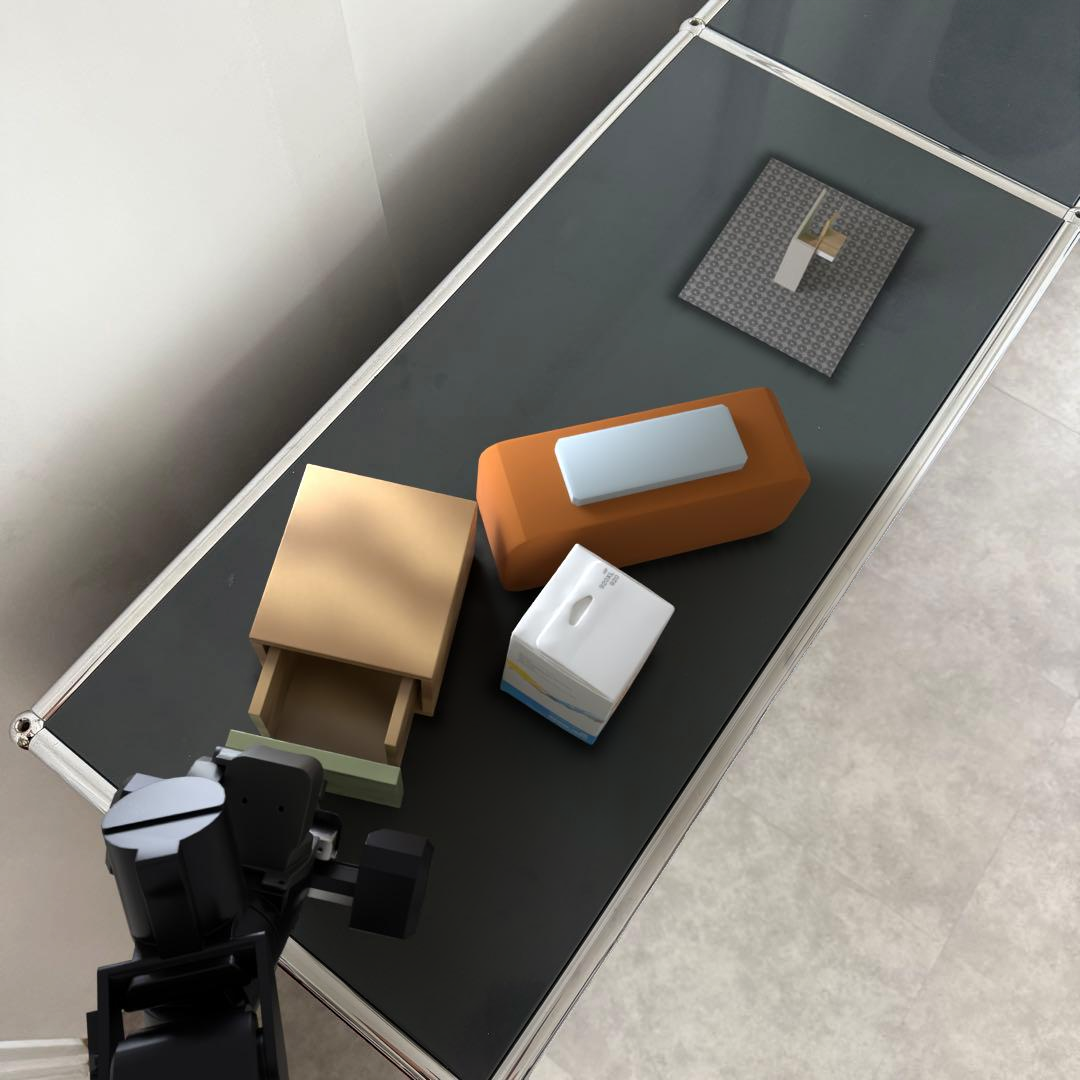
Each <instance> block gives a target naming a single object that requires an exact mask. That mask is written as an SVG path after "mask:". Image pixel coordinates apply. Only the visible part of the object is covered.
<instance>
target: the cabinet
mask: <svg viewBox="0 0 1080 1080" xmlns="http://www.w3.org/2000/svg"><path fill="white" fill-rule="evenodd" d="M478 509H479V506H478V502H477V500H476V501H475V500H471V499H465V498H462V497H457V496H453V495H449V494H444V493H440V492H436V491H431V490H427V489H422V488H418V487H414V486H408V485H403V484H399V483H395V482H390V481H386V480H382V479H377V478H373V477H369V476H364V475H358V474H355V473H350V472H345V471H341V470H338V469H333V468H328V467H323V466H319V465H315V464H310V463H307V464H306V467H305V470H304V473H303V476H302V479H301V482H300V485H299V488H298V490H297V494H296V496H295V500H294V503H293V505H292V508H291V512H290V514H289V517H288V520H287V523H286V526H285V528H284V532H283V535H282V538H281V541H280V543H279V547H278V549H277V553H276V554H275V555H276V556H275V559H274V561H273V564H272V566H271V567H272V568H271V570H270V574H269V576H268V579H267V582H266V585H265V588H264V591H263V594H262V597H261V599H260V603H259V606H258V608H257V612H256V615H255V616H254V617H255V618H254V621H253V623H252V625H251V629H250V631H249V635H248V639H249V641H250V644H251V647H252V648H253V650H254V653H255V655H256V657H257V658H258V661H259V662H260V666H261V667H262V668H263V666H264V663H265V660H266V657H267V654H268V651H269V648H270V646H274V647H278V648H282V649H287V650H291V651H296V652H300V653H305V654H309V655H313V656H318V657H322V658H327V659H331V660H336V661H340V662H344V663H349V664H353V665H358V666H362V667H367V668H371V669H375V670H380V671H384V672H389V673H393V674H398V675H402V676H407V677H411V678H415V679H420V680H421V689H420V693H419V697H418V701H417V705H416V709H415V712H414V714H419V715H422V716H426V717H434V714H435V709H436V706H437V702H438V698H439V694H440V689H441V686H442V682H443V679H444V674H445V670H446V666H447V663H448V658H449V654H450V650H451V647H452V643H453V639H454V635H455V632H456V629H457V628H456V627H457V623H458V619H459V615H460V611H461V608H462V604H463V601H464V600H463V599H464V596H465V593H466V589H467V584H468V581H469V576H470V572H471V568H472V565H473V561H474V557H475V546H476V536H477V535H476V534H477V533H476V532H477V520H478Z"/></svg>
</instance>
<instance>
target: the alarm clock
mask: <svg viewBox="0 0 1080 1080" xmlns="http://www.w3.org/2000/svg"><path fill="white" fill-rule="evenodd" d="M477 467H478V468H477V479H476V480H477V481H476V492H475V493H476V495H475V498H476V502H478V509H479V513H480V515H481V519H482V522H483V523H482V524H483V526H484V529H485V533H486V536H487V540H488V543H489V547H490V551H491V553H492V556H493V560H494V563H495V567H496V571H497V574H498V578H499V581H500V584H501V587H502V588H503V589H504V590H506V591H508V592H523V591H528V590H532V589H536V588H537V589H538V588H541V587H545V586H546V585H547V584H548V582H549V581H550V580H551V578H552V577H553V576H554V574H555V573H556V572H557V570H558V569H559V567H560V566H561V565H562V563H563V562H564V560H565V559H566V558H567V556H568V555H569V553H570V552H571V550H572V549H573V548H574V546H575V545H576V544H579V545H580V546H582V547H584V548H585V549H587V550H589V551H590V552H592V553H594V554H595V555H597V556H598V557H600V558H601V559H603V560H605V561H606V562H608V563H609V564H611V565H612V566H614V567H616V568H617V569H620V568H624V567H629V566H633V565H638V564H641V563H645V562H649V561H654V560H658V559H662V558H666V557H670V556H675V555H679V554H683V553H687V552H692V551H695V550H700V549H703V548H707V547H712V546H716V545H717V546H718V545H721V544H725V543H730V542H733V541H737V540H741V539H747V538H750V537H754V536H758V535H761V534H765V533H768V532H770V531H772V530H774V529H776V528H777V527H779V526H781V525H782V524H783V523H784V522H785V521H786V520H788V518H789V517H790V515H791V513H792V512H793V511H794V509H795V507H796V506H797V504H798V503H799V501H800V500H801V498H802V497H803V496H804V494H805V493H806V491H807V490H808V488H809V487H810V484H811V476H810V473H809V471H808V469H807V466H806V463H805V462H804V460H803V457H802V453H801V452H800V450H799V448H798V445H797V443H796V441H795V438H794V436H793V433H792V431H791V429H790V426H789V424H788V422H787V419H786V417H785V415H784V412H783V410H782V408H781V405H780V403H779V400H778V398H777V396H776V394H775V393H774V390H772V389H771V388H769V387H765V386H760V387H751V388H747V389H743V390H742V389H741V390H738V391H737V390H736V391H734V392H728V393H724V394H719V395H714V396H710V397H704V398H700V399H695V400H690V401H685V402H681V403H675V404H671V405H667V406H661V407H658V408H657V407H656V408H653V409H648V410H644V411H638V412H633V413H629V414H624V415H620V416H614V417H609V418H605V419H600V420H595V421H592V422H591V421H590V422H586V423H582V424H576V425H572V426H567V427H561V428H558V429H553V430H549V431H543V432H539V433H535V434H534V433H533V434H529V435H525V436H520V437H516V438H511V439H506V440H502V441H500V442H496V443H494V444H492V445H490V446H489V447H487V448H486V449H484V450H483V452H482V453H481V454H480V456H479V459H478V466H477Z"/></svg>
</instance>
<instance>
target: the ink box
mask: <svg viewBox="0 0 1080 1080" xmlns="http://www.w3.org/2000/svg"><path fill="white" fill-rule="evenodd" d="M674 613H675V606H674V604H673V605H672V604H671V603H670V602H668V601H667V600H665V599H664V598H662V597H661V596H660V595H658V594H657V593H655V592H654V591H652V590H651V589H650V588H648V587H647V586H645V585H643V583H640V582H639V581H638V580H636V579H634V578H633V577H631V576H630V575H628V574H627V573H625V572H624V571H622V570H620V568H616V567H614V566H612V565H611V564H609V563H608V562H606V561H605V560H603V559H601V558H600V557H598V556H597V555H595V554H594V553H592V552H590V551H589V550H587V549H585V548H584V547H582V546H580V545H579V544H576V545H575V546H574V548H573V549H572V550H571V552H570V553H569V555H568V556H567V558H566V559H565V560H564V562H563V563H562V565H561V566H560V567H559V569H558V570H557V572H556V573H555V574H554V576H553V577H552V578H551V580H550V581H549V582H548V584H547V585H545V586H544V588H543V589H542V590H541V592H540V593H539V594H538V596H537V597H536V598H535V600H534V602H532V604H531V605H530V607H529V608H528V609H527V611H526V612H525V613H524V614H523V616H522V617H521V619H520V621H519V622H518V624H517V625H516V627H515V628H514V630H513V631H512V632H511V636H510V640H509V646H508V649H507V653H506V659H505V664H504V668H503V671H502V677H501V681H500V690H501V691H503V692H506V693H507V694H509V695H510V696H512V697H513V698H514V699H516V700H517V701H520V702H521V703H522V704H524V705H526V707H528V708H530V709H531V710H533V711H534V712H536V713H538V714H539V715H540V716H542V717H543V718H545V719H547V720H548V721H550V722H551V723H553V724H554V725H556V726H558V727H560V728H561V729H562V730H564V731H565V732H568V733H569V734H571V735H572V736H574V737H576V738H578V739H579V740H582V741H583V742H584V743H586V744H588V745H590V746H591V745H593V744H594V743H595V742H596V740H597V739H598V737H599V735H600V734H601V732H602V731H603V729H604V728H605V726H606V725H607V723H608V721H609V720H610V718H611V717H612V716H613V714H614V712H615V711H616V710H617V708H618V706H619V705H620V703H621V702H622V700H623V698H624V697H625V695H626V693H627V692H628V691H629V689H630V688H631V686H632V684H633V683H634V681H635V679H636V678H637V676H638V675H639V673H640V671H641V670H642V668H643V666H644V665H645V663H646V662H647V660H648V658H649V656H650V655H651V653H652V652H653V649H654V647H655V645H656V644H657V642H658V640H659V638H660V637H661V635H662V634H663V632H664V629H665V628H666V626H667V624H668V622H669V621H670V619H671V617H672V616H673V614H674Z"/></svg>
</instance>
